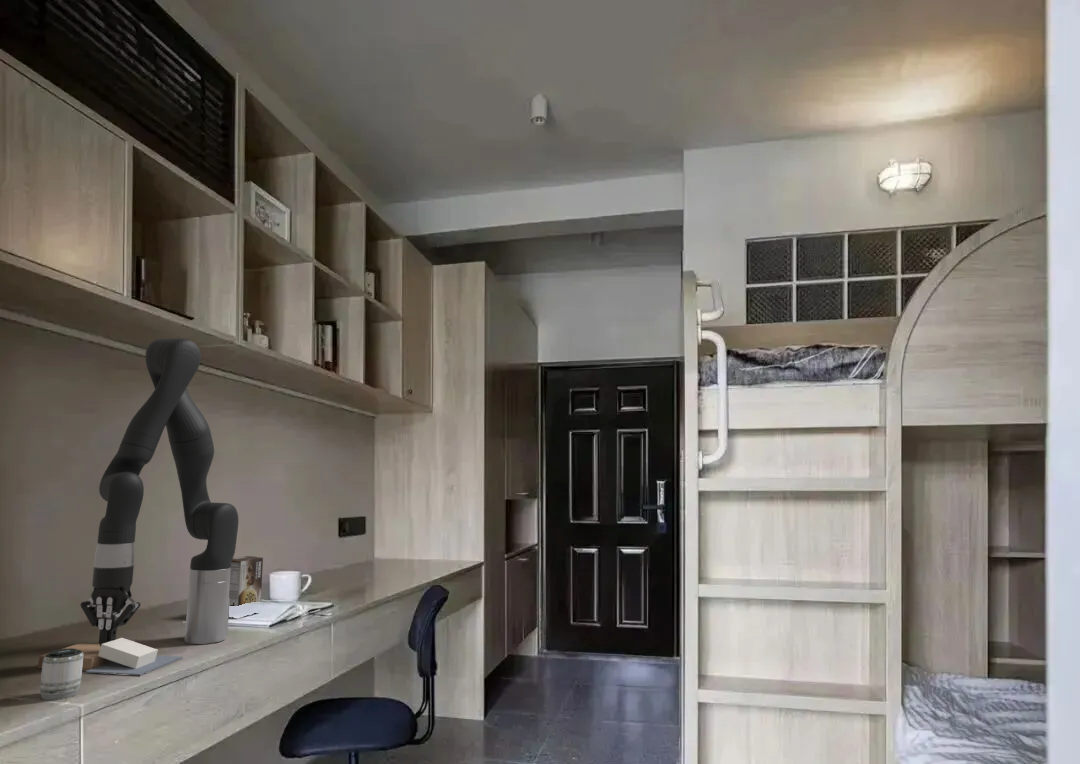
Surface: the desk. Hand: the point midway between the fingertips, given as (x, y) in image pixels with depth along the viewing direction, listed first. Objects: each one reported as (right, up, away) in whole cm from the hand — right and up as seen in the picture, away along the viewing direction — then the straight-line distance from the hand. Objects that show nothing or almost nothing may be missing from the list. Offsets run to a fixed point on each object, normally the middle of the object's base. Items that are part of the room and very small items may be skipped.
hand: (106, 646), depth 151 cm
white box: (+5, -2, -2) cm, 6 cm away
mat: (+7, -3, -1) cm, 8 cm away
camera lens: (+5, -1, -22) cm, 22 cm away
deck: (-5, -3, 0) cm, 6 cm away
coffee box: (+7, -11, +52) cm, 54 cm away
